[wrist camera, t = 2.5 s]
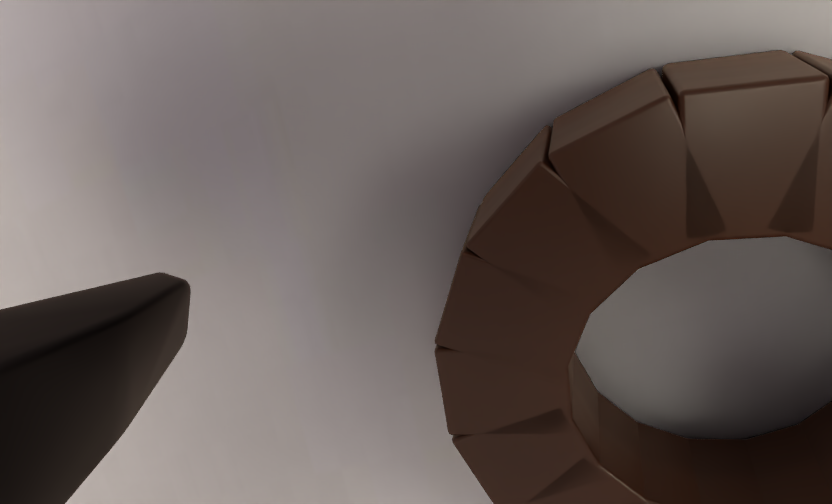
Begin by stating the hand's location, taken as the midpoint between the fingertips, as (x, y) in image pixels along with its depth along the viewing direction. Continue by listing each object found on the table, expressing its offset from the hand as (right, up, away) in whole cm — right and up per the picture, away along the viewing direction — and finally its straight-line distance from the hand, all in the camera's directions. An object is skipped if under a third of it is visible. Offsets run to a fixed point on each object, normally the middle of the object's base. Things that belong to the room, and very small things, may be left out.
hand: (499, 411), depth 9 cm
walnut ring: (+4, +1, +4) cm, 6 cm away
